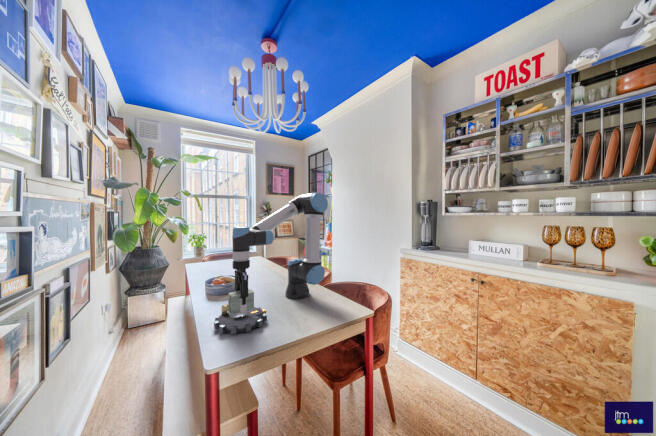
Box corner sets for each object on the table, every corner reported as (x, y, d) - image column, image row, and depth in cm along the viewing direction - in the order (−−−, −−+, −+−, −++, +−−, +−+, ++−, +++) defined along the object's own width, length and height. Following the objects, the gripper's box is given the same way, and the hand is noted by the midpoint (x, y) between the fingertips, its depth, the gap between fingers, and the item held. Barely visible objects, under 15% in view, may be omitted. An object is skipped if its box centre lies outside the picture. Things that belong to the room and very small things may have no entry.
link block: (228, 309, 106) (228, 292, 106) (249, 304, 112) (249, 288, 112) (231, 314, 101) (231, 296, 101) (253, 309, 107) (254, 292, 107)
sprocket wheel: (202, 331, 97) (202, 315, 97) (233, 309, 120) (233, 296, 120) (251, 336, 93) (251, 319, 93) (274, 313, 116) (274, 299, 116)
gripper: (256, 262, 101) (256, 313, 101) (243, 255, 116) (243, 300, 116) (238, 264, 96) (238, 318, 97) (227, 257, 111) (227, 304, 112)
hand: (241, 308), depth 106 cm, fingers closed on link block, 6 cm apart
